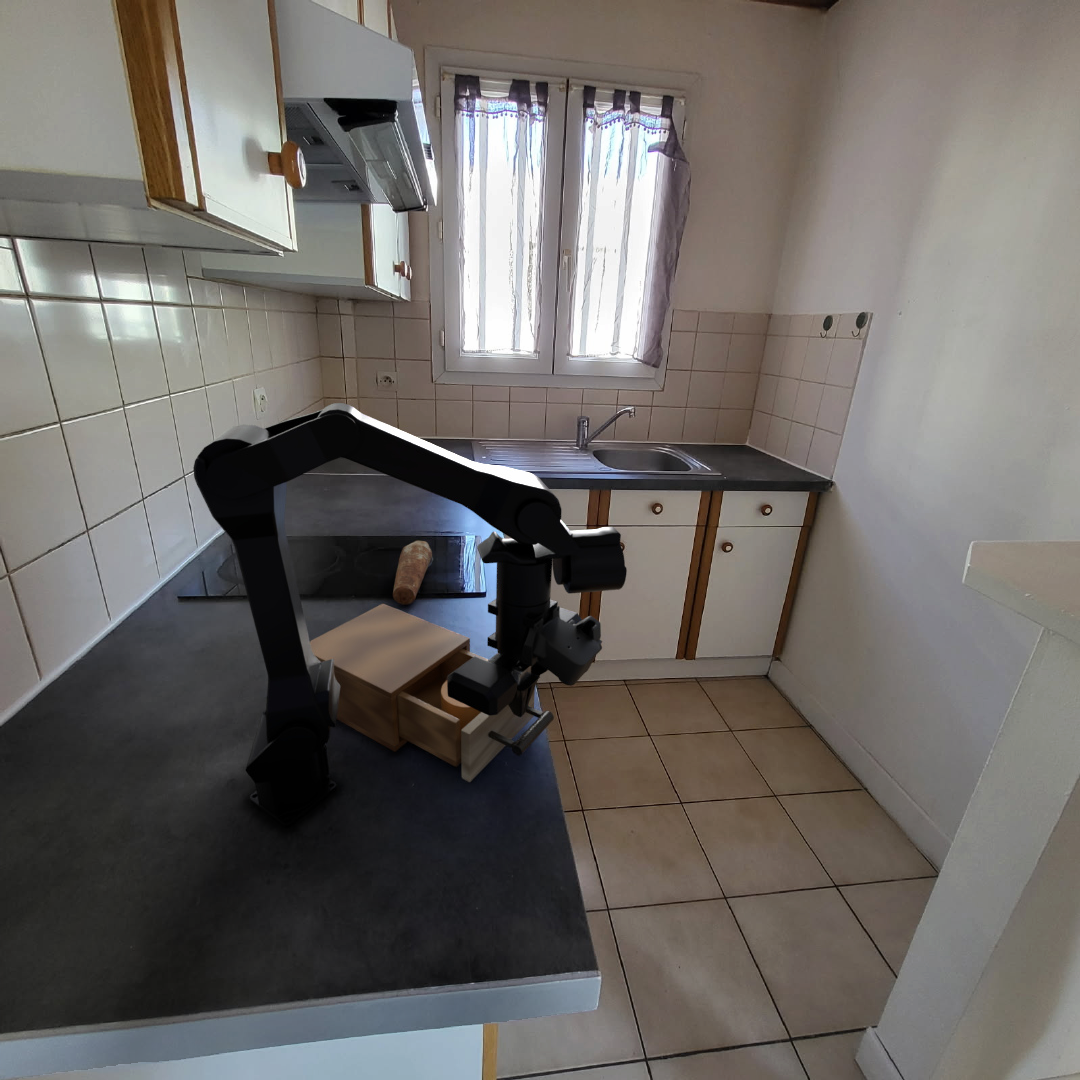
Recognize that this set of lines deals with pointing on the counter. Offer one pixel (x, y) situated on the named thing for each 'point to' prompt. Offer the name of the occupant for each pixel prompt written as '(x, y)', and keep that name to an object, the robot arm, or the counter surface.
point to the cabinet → (382, 665)
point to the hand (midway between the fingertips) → (519, 714)
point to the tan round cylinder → (457, 708)
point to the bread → (411, 571)
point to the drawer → (442, 730)
